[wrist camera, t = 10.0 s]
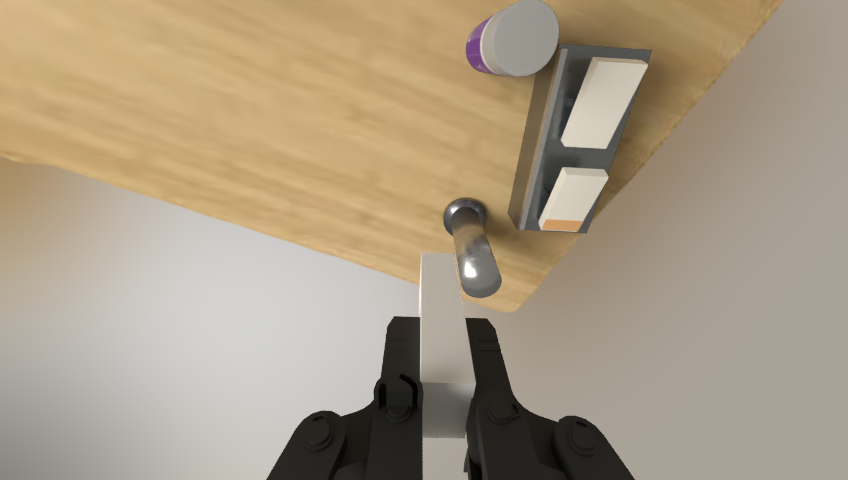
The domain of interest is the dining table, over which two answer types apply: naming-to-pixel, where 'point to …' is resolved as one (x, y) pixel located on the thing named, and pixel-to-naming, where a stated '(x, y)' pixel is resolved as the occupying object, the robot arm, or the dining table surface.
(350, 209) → the dining table surface
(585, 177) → the paddle
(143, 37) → the dining table surface
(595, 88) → the paddle
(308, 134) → the dining table surface
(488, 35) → the container
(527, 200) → the grey channel rail
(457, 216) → the post
